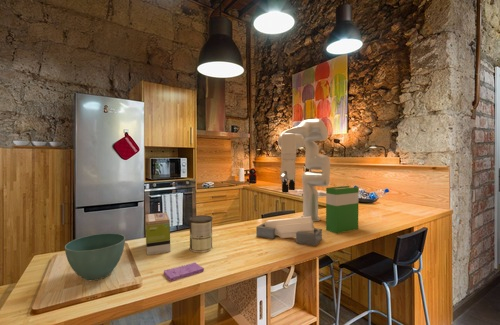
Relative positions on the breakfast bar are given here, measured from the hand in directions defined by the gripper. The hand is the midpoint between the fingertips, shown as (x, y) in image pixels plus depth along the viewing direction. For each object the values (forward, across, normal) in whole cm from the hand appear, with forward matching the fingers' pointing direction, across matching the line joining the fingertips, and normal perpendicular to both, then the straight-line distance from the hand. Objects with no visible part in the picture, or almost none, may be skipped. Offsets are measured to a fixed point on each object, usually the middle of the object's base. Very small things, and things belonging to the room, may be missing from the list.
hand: (288, 191), depth 131 cm
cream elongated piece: (+24, 0, 0) cm, 24 cm away
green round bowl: (+24, +71, -46) cm, 88 cm away
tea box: (+24, +42, -48) cm, 68 cm away
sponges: (+25, +55, -20) cm, 63 cm away
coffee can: (+24, +33, -30) cm, 51 cm away
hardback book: (+24, -28, +22) cm, 43 cm away
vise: (+24, 0, 0) cm, 24 cm away
